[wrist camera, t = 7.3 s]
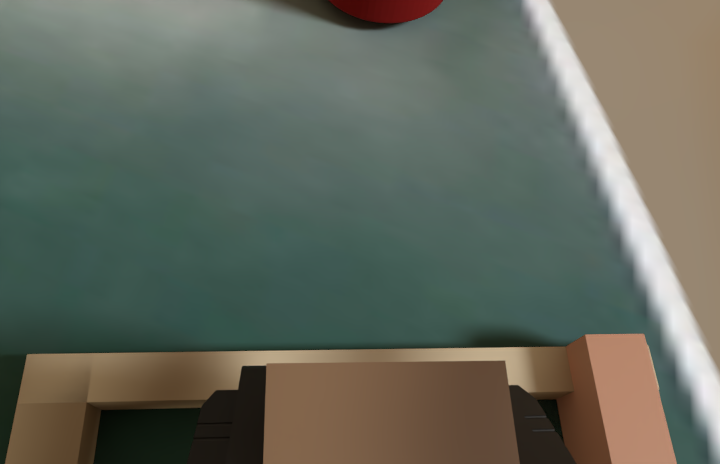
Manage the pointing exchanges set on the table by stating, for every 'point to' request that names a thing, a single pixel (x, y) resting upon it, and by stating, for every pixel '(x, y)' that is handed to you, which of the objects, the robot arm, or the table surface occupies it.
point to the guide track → (222, 369)
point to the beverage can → (387, 9)
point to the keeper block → (389, 413)
